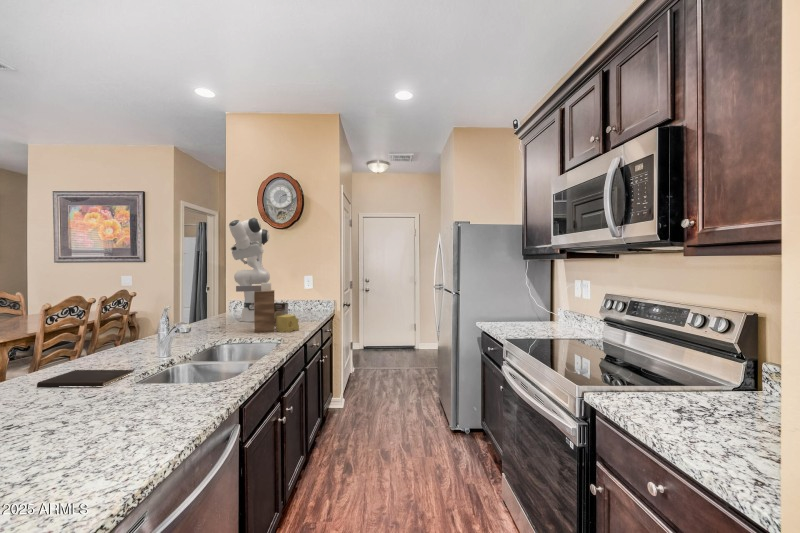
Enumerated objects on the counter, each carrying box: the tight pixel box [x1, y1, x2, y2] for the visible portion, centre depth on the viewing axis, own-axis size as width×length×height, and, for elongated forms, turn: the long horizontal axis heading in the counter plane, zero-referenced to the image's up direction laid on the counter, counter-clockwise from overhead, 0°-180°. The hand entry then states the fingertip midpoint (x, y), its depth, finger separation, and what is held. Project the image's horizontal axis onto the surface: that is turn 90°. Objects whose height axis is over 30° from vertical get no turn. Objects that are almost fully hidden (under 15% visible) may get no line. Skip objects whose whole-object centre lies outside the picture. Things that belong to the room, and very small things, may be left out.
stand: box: [253, 289, 275, 334], centre depth 246 cm, size 12×13×26 cm
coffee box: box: [274, 302, 289, 327], centre depth 266 cm, size 9×6×16 cm
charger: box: [235, 282, 272, 293], centre depth 244 cm, size 6×21×5 cm, turn 108°
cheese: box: [275, 313, 300, 333], centre depth 247 cm, size 10×11×10 cm
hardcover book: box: [36, 369, 135, 388], centre depth 141 cm, size 16×23×2 cm
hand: (252, 262), depth 258 cm, fingers open, 8 cm apart
